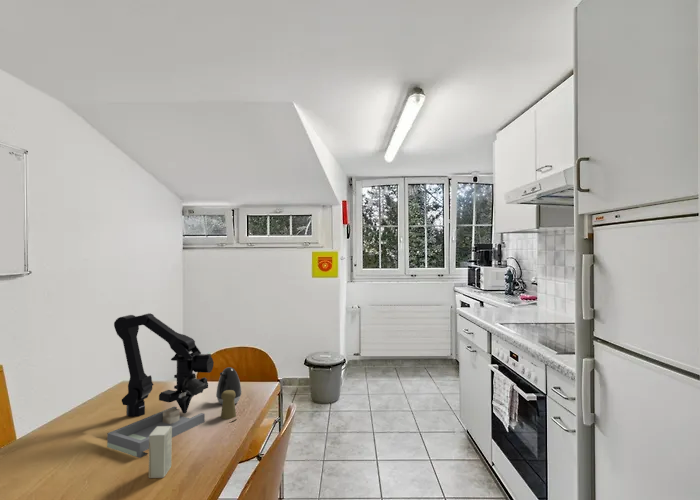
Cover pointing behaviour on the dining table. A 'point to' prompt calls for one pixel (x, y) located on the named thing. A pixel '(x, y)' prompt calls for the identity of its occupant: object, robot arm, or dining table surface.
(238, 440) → the dining table surface
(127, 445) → the box
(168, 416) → the birch block
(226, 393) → the cork
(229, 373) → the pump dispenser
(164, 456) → the skincare box
